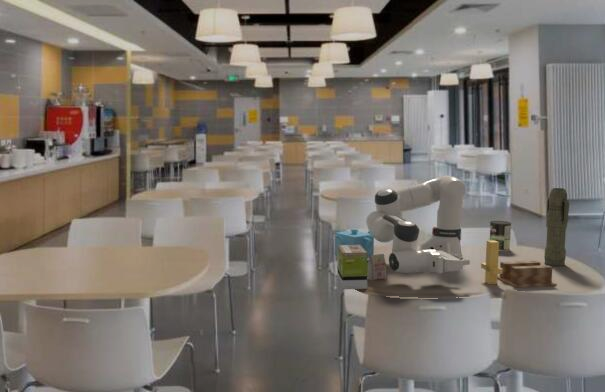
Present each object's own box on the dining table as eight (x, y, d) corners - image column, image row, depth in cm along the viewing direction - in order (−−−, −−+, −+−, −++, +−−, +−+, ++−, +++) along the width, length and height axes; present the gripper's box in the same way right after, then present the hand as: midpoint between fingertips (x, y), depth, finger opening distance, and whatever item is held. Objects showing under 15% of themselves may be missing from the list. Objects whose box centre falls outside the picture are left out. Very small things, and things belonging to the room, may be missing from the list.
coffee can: (494, 251, 307) (495, 224, 306) (485, 247, 317) (486, 220, 316) (513, 251, 308) (514, 223, 307) (504, 247, 319) (505, 220, 317)
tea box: (336, 280, 249) (337, 244, 247) (360, 279, 249) (361, 244, 248) (342, 289, 234) (342, 252, 232) (367, 289, 235) (368, 251, 233)
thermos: (558, 268, 272) (563, 190, 268) (537, 262, 282) (541, 187, 278) (572, 266, 276) (576, 189, 272) (550, 260, 286) (554, 186, 282)
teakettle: (373, 265, 276) (373, 233, 274) (331, 263, 278) (332, 231, 276) (373, 256, 294) (374, 226, 293) (335, 254, 297) (335, 225, 295)
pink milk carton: (366, 278, 252) (367, 254, 250) (380, 276, 255) (381, 253, 253) (371, 280, 248) (372, 256, 247) (385, 278, 251) (386, 254, 250)
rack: (515, 287, 239) (515, 269, 238) (495, 277, 254) (495, 261, 253) (556, 285, 242) (557, 268, 241) (534, 275, 257) (535, 259, 257)
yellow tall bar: (493, 286, 240) (495, 244, 238) (480, 279, 250) (482, 239, 248) (501, 286, 240) (503, 243, 238) (488, 279, 251) (490, 238, 249)
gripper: (420, 262, 250) (452, 261, 253) (440, 274, 230) (474, 273, 233) (421, 247, 249) (452, 246, 252) (441, 258, 229) (475, 256, 232)
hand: (463, 259), depth 242 cm, fingers open, 8 cm apart
